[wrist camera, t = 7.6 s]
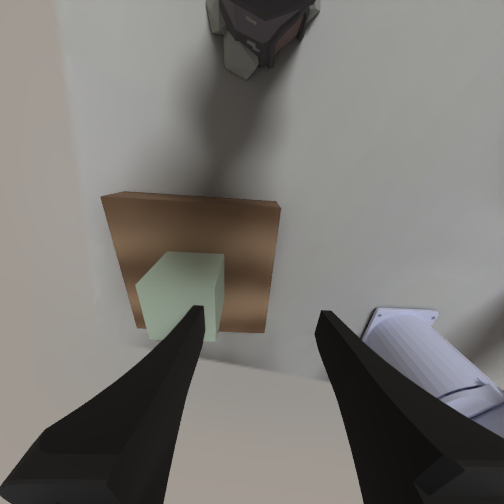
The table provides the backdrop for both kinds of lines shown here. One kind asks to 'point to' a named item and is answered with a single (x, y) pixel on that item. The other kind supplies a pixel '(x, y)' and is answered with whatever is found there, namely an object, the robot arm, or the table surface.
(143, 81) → the table surface
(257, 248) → the walnut plinth
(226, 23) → the model tower
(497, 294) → the table surface
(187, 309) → the sage cube
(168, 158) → the table surface
